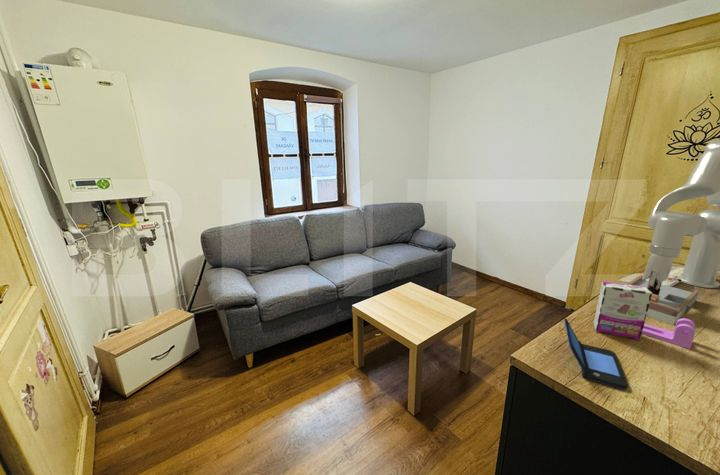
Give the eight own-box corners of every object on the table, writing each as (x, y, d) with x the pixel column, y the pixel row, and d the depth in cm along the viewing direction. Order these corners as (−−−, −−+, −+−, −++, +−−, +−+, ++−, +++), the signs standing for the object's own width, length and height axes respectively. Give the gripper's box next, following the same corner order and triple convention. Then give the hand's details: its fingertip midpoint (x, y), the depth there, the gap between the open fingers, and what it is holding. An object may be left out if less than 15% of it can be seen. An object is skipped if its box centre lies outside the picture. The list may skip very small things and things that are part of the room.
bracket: (689, 341, 90) (696, 321, 88) (689, 349, 86) (696, 328, 84) (633, 324, 99) (638, 305, 97) (630, 330, 95) (635, 312, 93)
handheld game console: (628, 392, 72) (637, 361, 69) (563, 374, 79) (569, 345, 76) (613, 354, 85) (621, 327, 82) (559, 341, 92) (564, 315, 89)
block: (639, 297, 109) (641, 290, 108) (657, 303, 105) (660, 295, 104) (634, 301, 106) (636, 294, 106) (653, 307, 102) (655, 299, 101)
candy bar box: (634, 332, 94) (647, 286, 90) (640, 341, 90) (654, 293, 85) (591, 324, 99) (601, 280, 95) (595, 331, 95) (605, 286, 90)
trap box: (637, 284, 125) (640, 273, 124) (695, 300, 111) (700, 287, 110) (610, 303, 111) (613, 290, 110) (673, 324, 97) (677, 310, 96)
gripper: (657, 244, 109) (644, 288, 115) (642, 252, 102) (630, 299, 107) (685, 249, 103) (671, 295, 108) (672, 258, 96) (658, 307, 101)
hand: (651, 297), depth 108 cm, fingers closed
